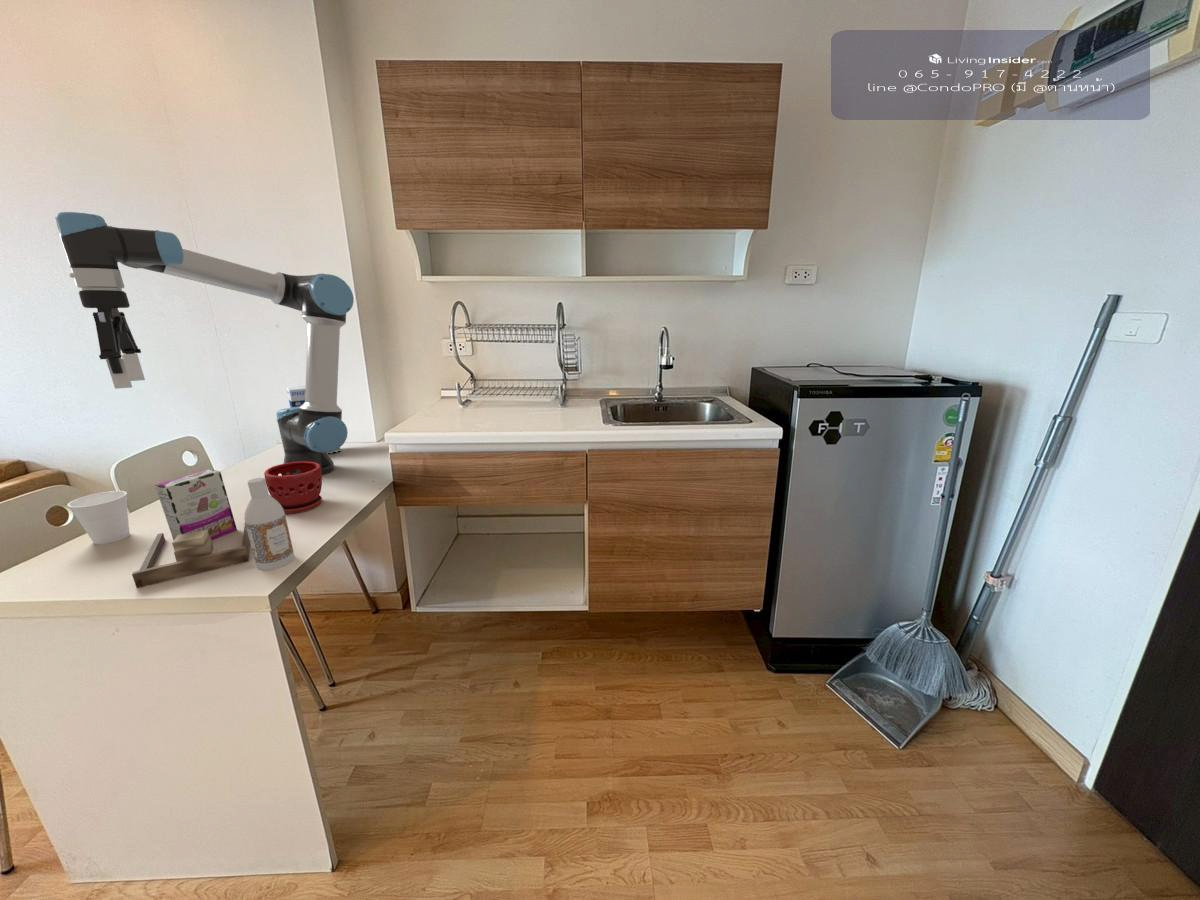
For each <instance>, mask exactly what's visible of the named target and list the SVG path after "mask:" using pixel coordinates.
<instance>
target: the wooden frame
mask: <svg viewBox="0 0 1200 900" xmlns="http://www.w3.org/2000/svg"><path fill="white" fill-rule="evenodd" d="M243 528H244V529H243V533H242V534H243V537H242V544H241V546H240V547H236V548H232V549H228V550H227V549H226V550H222V551H218V552H217V553H213V554H209V555H205V556H200V557H196V558H192V559H187V560H183V561H178V562H176V561H175V562H171V563H167V564H162V565H157V566H153V565H155V563H156V561H157V559H158V557H159V555H160V552H161V550H162V548H163V547H164V543H165V542H166V538H165V534H164V532H161V533H157V534H156V536H155V538H154V540H153V542H152V544H151V546H150V548H149V549H150V550H149V549H148V552H147V554H146V556H145V558H144V559H143V560H144V561H143V562H142V564H141V566H140V568H139V570H136V571H132V573H131V576H132V578H133V581H134V585H135V587H136V589H139V587H140V588H144V587H148V586H152V585H156V584H159V583H165V582H169V581H172V580H177V579H182V578H185V577H188V576H193V575H197V574H201V573H205V572H210V571H214V570H218V569H223V568H226V567H231V566H235V565H238V564H243V563H247V562H249V561H250V551H251V550H250V549H251V544H250V540H249V536H248V532H247V528H246V524H245V523H244V526H243ZM147 585H148V586H147Z"/></svg>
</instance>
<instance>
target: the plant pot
mask: <svg viewBox="0 0 1200 900" xmlns="http://www.w3.org/2000/svg"><path fill="white" fill-rule="evenodd" d="M294 470H299V471H301V474H296V475H293V471H294ZM287 472H290V474H289V475H287V474H286V473H287ZM279 474H281V475H279ZM263 475H264V479H265V482H266V486H267V490H268V494H269V495H270V496H271V497H273V498H274V499H275V500H276V501H278V502H279V503H280V505H281V506H282V508H283V510H284V512H285V515H292V514H300V513H303V512H308V511H311V510H313V509H315V508H317V507H318V506H319V505H320V504H321V503H322V501H323V497H322V496H321V495H320V494H321V491H322V487H323V476H322V472H321V467H320V465H319V464H318V463H315V462H290V463H285V464H283V463H281V464H277V465H273V466H271V467H269V468H267V469H266V470H265V471H264V473H263Z"/></svg>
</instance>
